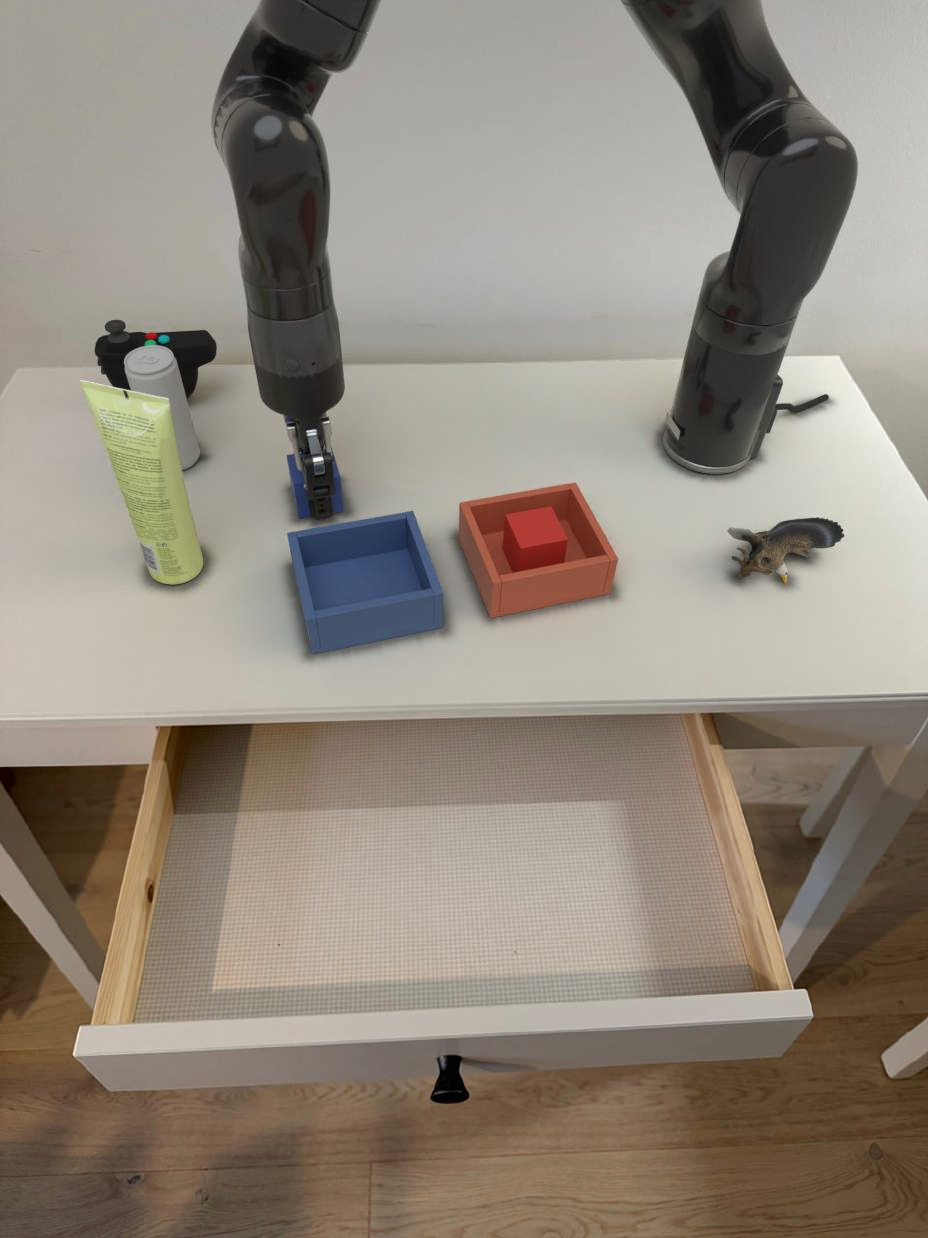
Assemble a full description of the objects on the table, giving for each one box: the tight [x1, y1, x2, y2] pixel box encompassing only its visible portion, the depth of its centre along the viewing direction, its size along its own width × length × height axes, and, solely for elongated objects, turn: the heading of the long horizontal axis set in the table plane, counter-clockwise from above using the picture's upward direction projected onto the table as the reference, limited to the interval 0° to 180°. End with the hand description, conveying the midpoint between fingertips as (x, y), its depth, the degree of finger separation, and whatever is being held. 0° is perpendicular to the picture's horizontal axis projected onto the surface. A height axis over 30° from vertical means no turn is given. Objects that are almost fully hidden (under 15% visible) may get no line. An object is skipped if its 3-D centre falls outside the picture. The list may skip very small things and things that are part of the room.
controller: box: [93, 319, 218, 400], centre depth 94 cm, size 4×12×10 cm, turn 100°
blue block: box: [286, 448, 345, 520], centre depth 86 cm, size 4×4×4 cm
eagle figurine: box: [727, 516, 845, 584], centre depth 81 cm, size 8×7×9 cm
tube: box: [79, 379, 204, 585], centre depth 74 cm, size 6×5×20 cm
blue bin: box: [286, 510, 444, 655], centre depth 78 cm, size 12×11×5 cm
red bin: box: [457, 481, 619, 619], centre depth 81 cm, size 12×11×5 cm
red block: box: [503, 506, 568, 573], centre depth 80 cm, size 4×4×4 cm
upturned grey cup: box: [124, 345, 201, 471], centre depth 87 cm, size 5×5×12 cm
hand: (317, 497), depth 88 cm, fingers closed on blue block, 4 cm apart
